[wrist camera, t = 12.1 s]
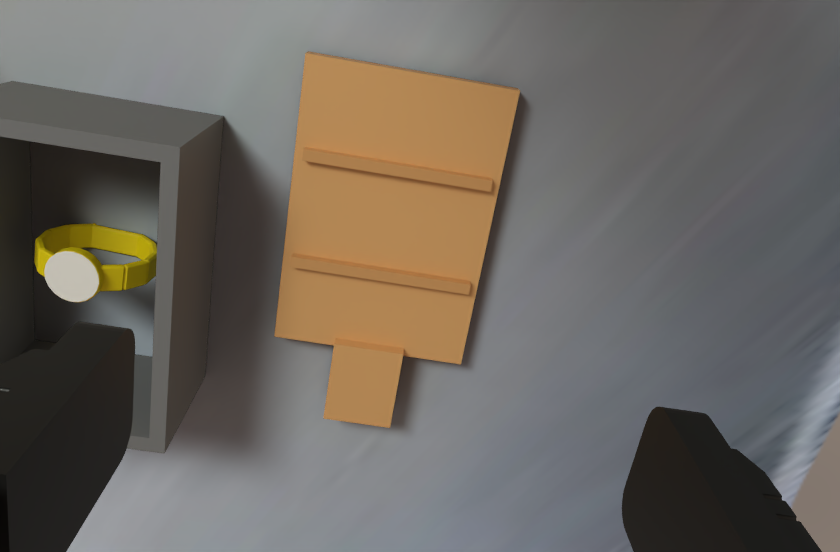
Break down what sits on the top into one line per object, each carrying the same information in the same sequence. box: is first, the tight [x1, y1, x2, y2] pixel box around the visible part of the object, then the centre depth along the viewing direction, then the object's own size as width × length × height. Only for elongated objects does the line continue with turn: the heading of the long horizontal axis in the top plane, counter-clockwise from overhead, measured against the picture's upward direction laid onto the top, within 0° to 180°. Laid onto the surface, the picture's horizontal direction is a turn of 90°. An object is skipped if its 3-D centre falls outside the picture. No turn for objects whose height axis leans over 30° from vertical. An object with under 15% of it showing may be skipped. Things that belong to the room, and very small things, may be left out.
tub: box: [0, 81, 224, 453], centre depth 38 cm, size 16×11×8 cm
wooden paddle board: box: [274, 51, 520, 428], centre depth 41 cm, size 20×11×3 cm, turn 170°
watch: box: [34, 223, 157, 302], centre depth 39 cm, size 6×3×6 cm, turn 77°
